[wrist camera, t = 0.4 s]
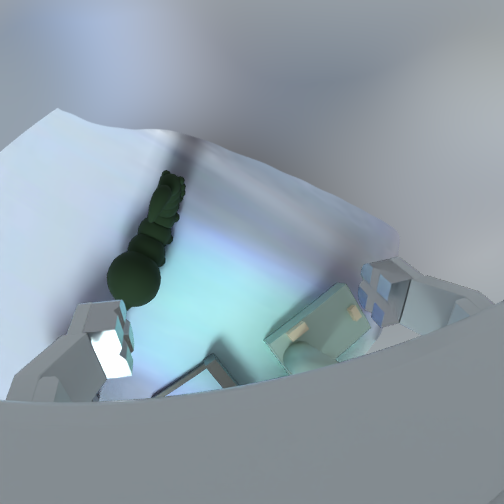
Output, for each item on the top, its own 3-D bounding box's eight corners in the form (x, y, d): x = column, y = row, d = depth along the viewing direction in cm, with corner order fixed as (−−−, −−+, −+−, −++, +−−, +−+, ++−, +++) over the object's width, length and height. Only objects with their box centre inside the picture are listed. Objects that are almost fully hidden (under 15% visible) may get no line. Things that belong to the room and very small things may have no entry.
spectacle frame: (246, 394, 62) (251, 402, 58) (185, 434, 59) (186, 444, 55) (213, 353, 61) (215, 359, 57) (149, 395, 58) (148, 404, 54)
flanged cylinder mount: (361, 324, 68) (411, 340, 51) (293, 380, 65) (329, 415, 47) (337, 282, 67) (386, 289, 50) (263, 340, 63) (294, 368, 46)
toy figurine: (152, 190, 60) (101, 306, 56) (147, 153, 42) (73, 315, 37) (194, 209, 62) (144, 326, 57) (205, 178, 44) (134, 344, 39)
